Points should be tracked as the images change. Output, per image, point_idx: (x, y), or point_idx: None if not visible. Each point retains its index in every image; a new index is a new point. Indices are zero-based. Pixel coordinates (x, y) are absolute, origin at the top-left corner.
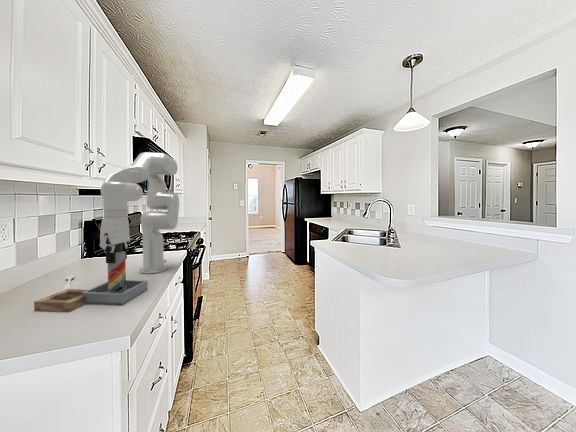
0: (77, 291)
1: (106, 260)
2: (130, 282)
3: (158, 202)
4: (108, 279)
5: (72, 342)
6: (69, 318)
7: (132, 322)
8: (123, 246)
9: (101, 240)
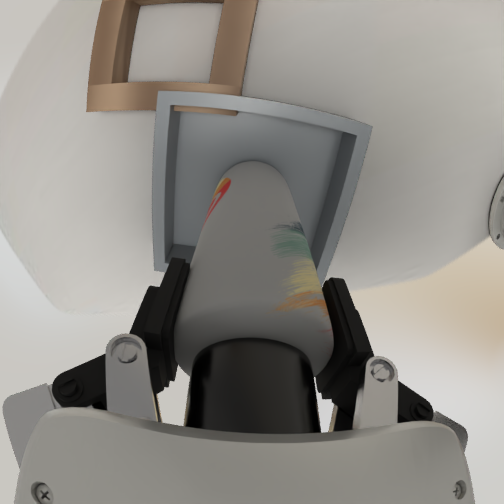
0: (221, 32)
1: (166, 273)
2: (328, 223)
3: None
4: (215, 196)
5: (15, 243)
6: (69, 149)
7: (90, 307)
8: (351, 407)
9: (32, 462)
